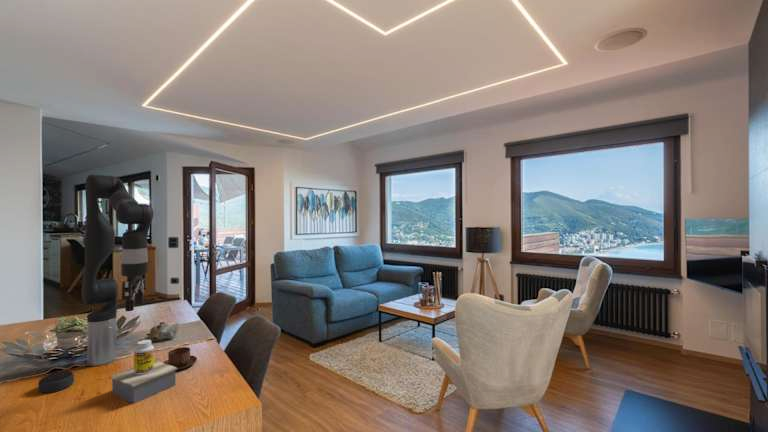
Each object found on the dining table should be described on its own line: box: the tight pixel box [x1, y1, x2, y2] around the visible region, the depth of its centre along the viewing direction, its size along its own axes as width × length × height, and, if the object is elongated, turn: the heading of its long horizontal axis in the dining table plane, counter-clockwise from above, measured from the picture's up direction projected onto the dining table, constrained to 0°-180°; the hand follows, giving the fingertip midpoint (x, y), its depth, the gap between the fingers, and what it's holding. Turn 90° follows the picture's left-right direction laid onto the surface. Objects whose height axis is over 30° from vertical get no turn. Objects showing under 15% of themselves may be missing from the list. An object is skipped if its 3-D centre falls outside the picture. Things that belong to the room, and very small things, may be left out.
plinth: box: [109, 359, 178, 404], centre depth 117 cm, size 14×14×6 cm
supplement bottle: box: [133, 339, 155, 375], centre depth 117 cm, size 6×6×10 cm
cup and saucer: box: [162, 346, 198, 371], centre depth 135 cm, size 12×12×6 cm
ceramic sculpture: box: [138, 321, 179, 343], centre depth 164 cm, size 11×9×15 cm
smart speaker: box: [37, 370, 75, 394], centre depth 119 cm, size 9×9×4 cm
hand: (134, 307), depth 120 cm, fingers open, 8 cm apart
